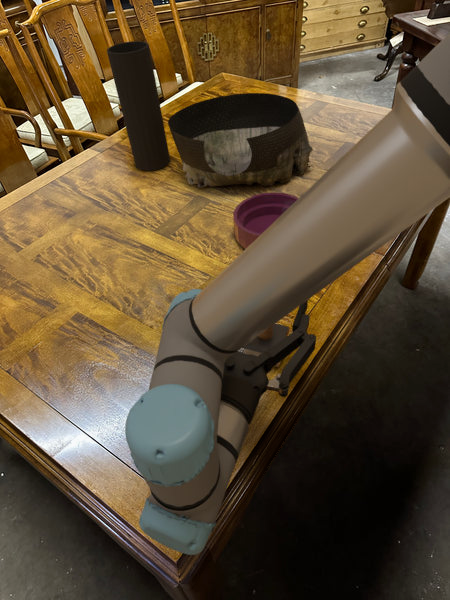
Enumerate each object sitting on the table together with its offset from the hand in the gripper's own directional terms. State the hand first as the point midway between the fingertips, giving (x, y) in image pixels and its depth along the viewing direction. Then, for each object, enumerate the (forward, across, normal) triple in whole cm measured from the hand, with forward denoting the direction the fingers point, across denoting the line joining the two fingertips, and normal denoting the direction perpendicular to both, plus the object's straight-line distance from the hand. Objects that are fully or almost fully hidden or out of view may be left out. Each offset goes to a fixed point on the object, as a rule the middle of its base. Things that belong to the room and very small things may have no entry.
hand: (273, 294), depth 67 cm
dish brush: (-4, 0, -10) cm, 10 cm away
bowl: (+28, -8, -10) cm, 30 cm away
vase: (+52, -52, -10) cm, 74 cm away
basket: (+52, -24, -10) cm, 58 cm away
